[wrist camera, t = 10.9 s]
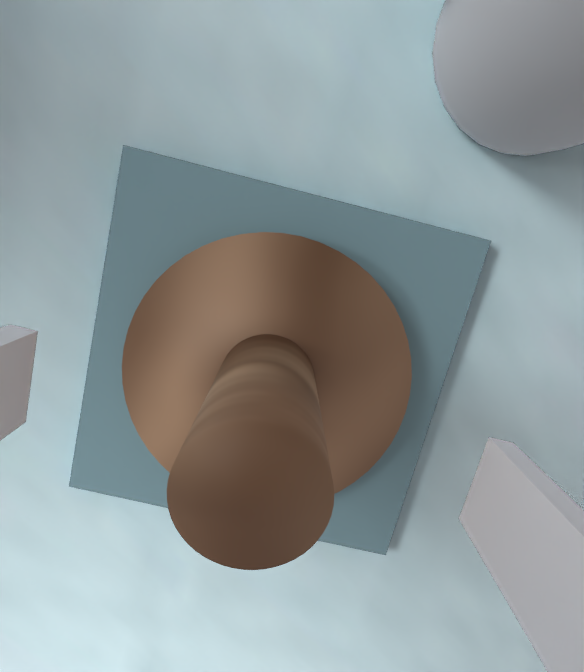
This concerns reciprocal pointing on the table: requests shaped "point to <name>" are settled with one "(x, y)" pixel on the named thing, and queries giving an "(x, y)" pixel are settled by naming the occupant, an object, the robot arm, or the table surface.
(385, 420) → the lid
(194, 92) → the table surface
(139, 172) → the mat
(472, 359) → the table surface
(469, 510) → the robot arm
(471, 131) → the cup
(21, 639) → the table surface
